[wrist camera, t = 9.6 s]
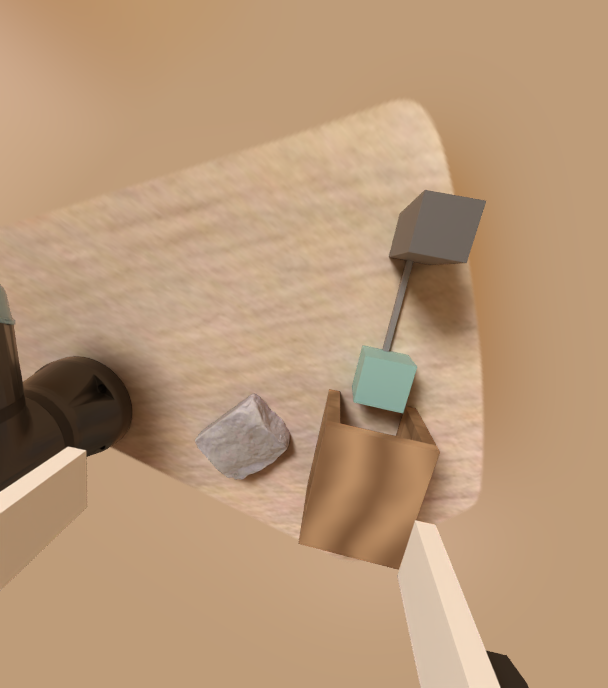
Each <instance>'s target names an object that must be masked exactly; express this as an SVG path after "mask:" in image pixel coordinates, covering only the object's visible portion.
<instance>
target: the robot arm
mask: <svg viewBox="0 0 608 688" xmlns="http://www.w3.org/2000/svg"><path fill="white" fill-rule="evenodd" d="M14 324H15V320H14V319H13V318H12V315H11V312H10V308H9V304H8V299H7V295H6V292H5V290H4V288H3V287H2V286H1V285H0V591H1V590H2V589H3V588H4V587H5V586H6V585H7V584H8V583H9V582H10V581H11V580H12V579H13V578H14V577H15V576H16V575H17V574H18V573H19V572H20V571H21V570H22V569H23V568H24V567H25V566H27V565H28V564H29V563H30V561H32V560H33V559H34V558H35V557H36V556H37V555H38V554H39V553H40V552H41V551H42V550H43V549H44V548H45V547H46V546H47V545H48V544H49V543H50V542H51V541H52V540H53V539H55V537H57V536H58V535H59V534H60V533H61V532H62V531H63V530H64V529H65V528H66V527H67V526H68V525H69V524H70V523H71V522H72V521H73V520H74V519H75V518H76V517H77V516H78V515H79V514H80V513H81V512H83V511H84V509H86V508H87V466H86V465H87V463H86V457H88V456H90V455H93V454H96V453H99V452H102V451H104V450H106V449H108V448H109V447H111V446H112V445H113V444H115V443H116V442H117V441H118V440H120V439H121V438H122V437H123V436H124V435H125V433H126V432H127V430H128V428H129V426H130V423H131V418H132V406H131V401H130V398H129V395H128V392H127V390H126V388H125V387H124V385H123V383H122V382H121V380H120V379H119V378H118V377H117V376H116V375H115V374H114V373H113V372H112V371H111V370H110V369H109V368H107V367H106V366H104V365H103V364H101V363H99V362H97V361H95V360H92V359H90V358H86V357H78V356H74V357H67V358H63V359H60V360H57V361H54V362H51V363H49V364H47V365H45V366H43V367H42V368H40V369H39V370H38V371H37V372H36V373H35V374H34V375H32V376H31V377H29V378H28V379H27V380H25V381H24V382H22V376H21V370H20V364H19V358H18V352H17V345H16V338H15V331H14ZM398 581H399V586H400V591H401V596H402V601H403V605H404V610H405V615H406V619H407V624H408V629H409V634H410V639H411V644H412V649H413V653H414V658H415V663H416V668H417V673H418V677H419V682H420V687H421V688H528V685H527V683H526V682H525V680H524V679H523V677H522V676H521V675H520V673H519V672H518V670H517V669H516V668H515V667H514V665H513V664H512V662H511V661H510V659H509V658H508V657H507V655H502V654H498V653H494V652H489V651H486V650H485V648H484V645H483V643H482V640H481V638H480V635H479V633H478V630H477V628H476V625H475V622H474V620H473V618H472V615H471V613H470V610H469V607H468V605H467V602H466V600H465V597H464V595H463V592H462V590H461V587H460V585H459V582H458V580H457V577H456V575H455V572H454V570H453V567H452V565H451V562H450V560H449V557H448V555H447V553H446V550H445V547H444V545H443V542H442V540H441V537H440V535H439V532H438V530H437V528H436V525H435V524H430V523H425V522H421V521H416V520H415V522H414V525H413V529H412V532H411V535H410V538H409V541H408V544H407V547H406V551H405V554H404V557H403V560H402V563H401V566H400V569H399V573H398Z"/></svg>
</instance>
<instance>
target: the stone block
mask: <svg viewBox="0 0 608 688" xmlns="http://www.w3.org/2000/svg"><path fill="white" fill-rule="evenodd" d="M289 434H290V433H289V430H288V429H287V427H286V425H285V423H284V422H283V420H282V419H281V418H280V417H279V416H277V415H276V413H275V412H273V411H271V409H270V408H269V407H268V405H267V404H266V403H265V402H264V401H263V400H262V399H261V398H260V397H259V396H258V395H257V394H251V395H250V396H249V397H247V398H246V399H245V400H243V401H242V402H241V403H239V404H238V405H237V406H235V407H234V408H233V409H231V410H230V411H228V412H227V413H226V414H224V415H223V416H222V417H220V418H219V419H218V420H216V421H215V422H214V423H212V424H211V425H209V426H208V427H207V428H205V429H204V430H203V431H202V432H201V433H200V434H199V435H198V436H197V438H196V439H195V442H196V444H197V446H198V448H199V449H200V450H201V452H202V453H203V454H204V455H205V456H206V457H207V458H208V460H209V461H210V462H211V463H212V464H213V465H214V466H215V468H216V469H217V470H218V471H220V472H221V473H222V474H224V475H225V476H226V477H228V478H234V479H244V478H245V477H246V476H247V475H249V474H254V473H256V472H258V471H260V470H262V469H263V468H265V467H266V466H267V465H270V464H271V463H273V462H274V461H275V460H276V459H277V458H278V457H280V455H281V454H282V453H283V452H284V451H286V450H287V448H288V446H289V438H290V437H289Z"/></svg>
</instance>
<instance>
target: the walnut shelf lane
mask: <svg viewBox="0 0 608 688" xmlns="http://www.w3.org/2000/svg"><path fill="white" fill-rule="evenodd" d="M439 453H440V451H439V449H438V448H437V446H436V444H435V442H434V440H433V438H432V437H431V435H430V433H429V431H428V429H427V428H426V426H425V424H424V422H423V420H422V418H421V417H420V415H419V413H418V411H417V409H416V408H412V407H407V406H405V409H404V412H403V414H402V418H401V421H400V424H399V428H398V431H397V434H396V436H393V435H388V434H384V433H380V432H375V431H371V430H367V429H362V428H358V427H354V426H349V425H345V424H341V423H340V391H335V390H331V389H329V393H328V397H327V402H326V406H325V410H324V415H323V419H322V424H321V428H320V432H319V437H318V441H317V445H316V450H315V454H314V459H313V463H312V467H311V472H310V476H309V480H308V485H307V491H306V498H305V505H304V511H303V518H302V524H301V531H300V538H299V544H302V545H305V546H309V547H313V548H317V549H321V550H325V551H329V552H332V553H336V554H340V555H344V556H348V557H352V558H356V559H360V560H363V561H367V562H371V563H375V564H379V565H383V566H387V567H391V568H394V569H399V567H400V565H401V562H402V559H403V556H404V553H405V550H406V547H407V544H408V541H409V538H410V535H411V532H412V529H413V525H414V522H415V520H416V519H417V516H418V513H419V510H420V508H421V505H422V502H423V499H424V496H425V493H426V491H427V488H428V485H429V482H430V479H431V476H432V473H433V471H434V468H435V465H436V462H437V459H438V456H439Z"/></svg>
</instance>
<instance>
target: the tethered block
mask: <svg viewBox="0 0 608 688" xmlns="http://www.w3.org/2000/svg"><path fill="white" fill-rule="evenodd" d="M485 203H486V201H484V200H479V199H473V198H468V197H462V196H456V195H451V194H445V193H439V192H434V191H428V190H425V191H423V192H422V193H421V194H420V195H419V196H418V197H417V198H416V199H415V200H414V201H413V202H412V203H411V204H410V205H409V206H407V207H406V208H405V209H404V210H403V211H402V212H401V213H400V215H399V219H398V223H397V227H396V231H395V235H394V239H393V243H392V246H391V250H390V254H389V257H392V258H397V259H402V260H406V264H405V267H404V271H403V275H402V279H401V282H400V286H399V290H398V293H397V297H396V301H395V305H394V308H393V312H392V316H391V320H390V323H389V327H388V331H387V334H386V338H385V342H384V346H383V349H377V348H373V347H368V346H363V345H362V349H361V353H360V357H359V361H358V365H357V369H356V373H355V377H354V381H353V385H352V391H353V401H354V402H355V403H359V404H364V405H368V406H372V407H377V408H381V409H386V410H390V411H394V412H399V413H403V412H404V409H405V406H406V402H407V399H408V396H409V392H410V389H411V386H412V383H413V379H414V376H415V373H416V369H417V366H416V365H415V363H414V362H413V361H412V360H411V358H410V357H409V356H408V355H405V354H401V353H396V352H391V351H389V349H390V345H391V341H392V338H393V334H394V330H395V327H396V323H397V319H398V316H399V312H400V309H401V305H402V301H403V298H404V294H405V290H406V287H407V283H408V279H409V276H410V272H411V269H412V265H413V262H417V263H423V264H428V265H437V264H456V263H467V260H468V257H469V253H470V250H471V247H472V244H473V241H474V238H475V235H476V231H477V228H478V225H479V222H480V219H481V216H482V212H483V209H484V206H485Z"/></svg>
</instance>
